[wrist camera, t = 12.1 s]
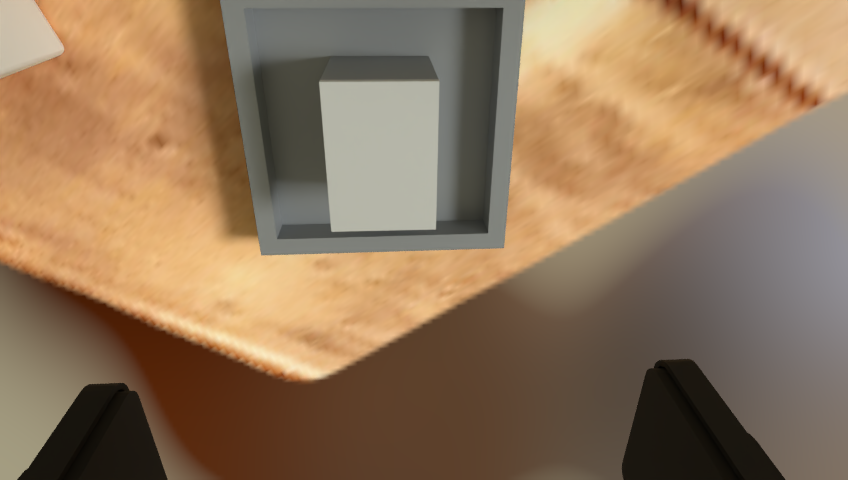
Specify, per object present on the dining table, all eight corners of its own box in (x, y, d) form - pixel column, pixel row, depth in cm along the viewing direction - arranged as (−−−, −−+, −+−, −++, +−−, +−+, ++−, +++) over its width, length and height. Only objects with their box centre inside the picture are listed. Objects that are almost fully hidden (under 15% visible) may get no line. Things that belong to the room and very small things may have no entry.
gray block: (428, 56, 28) (439, 81, 23) (427, 181, 31) (436, 229, 26) (331, 56, 28) (318, 81, 22) (340, 183, 31) (331, 231, 26)
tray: (515, -19, 27) (526, -16, 25) (496, 229, 34) (503, 248, 32) (230, -19, 26) (217, -16, 24) (269, 235, 33) (261, 255, 31)
